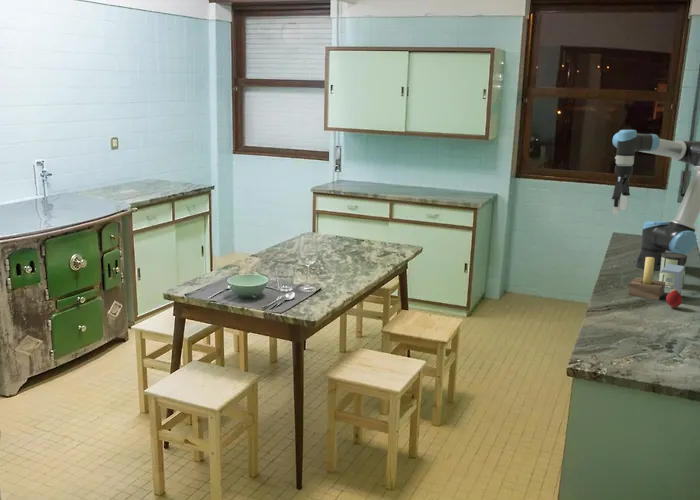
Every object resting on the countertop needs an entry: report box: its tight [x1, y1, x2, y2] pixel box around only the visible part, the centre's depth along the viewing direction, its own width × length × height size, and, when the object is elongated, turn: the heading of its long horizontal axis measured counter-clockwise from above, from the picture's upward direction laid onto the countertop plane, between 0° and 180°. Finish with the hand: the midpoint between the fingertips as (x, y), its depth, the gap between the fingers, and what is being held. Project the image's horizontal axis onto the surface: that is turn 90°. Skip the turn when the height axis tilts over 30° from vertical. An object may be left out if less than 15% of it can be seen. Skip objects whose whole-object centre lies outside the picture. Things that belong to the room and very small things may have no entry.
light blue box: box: [662, 264, 686, 295], centre depth 277 cm, size 12×7×13 cm, turn 145°
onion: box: [665, 288, 683, 309], centre depth 264 cm, size 6×6×8 cm
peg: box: [643, 257, 655, 285], centre depth 282 cm, size 4×4×16 cm
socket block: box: [627, 277, 666, 301], centre depth 283 cm, size 12×12×5 cm
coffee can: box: [658, 251, 688, 289], centre depth 295 cm, size 10×10×14 cm
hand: (619, 211), depth 299 cm, fingers open, 13 cm apart
